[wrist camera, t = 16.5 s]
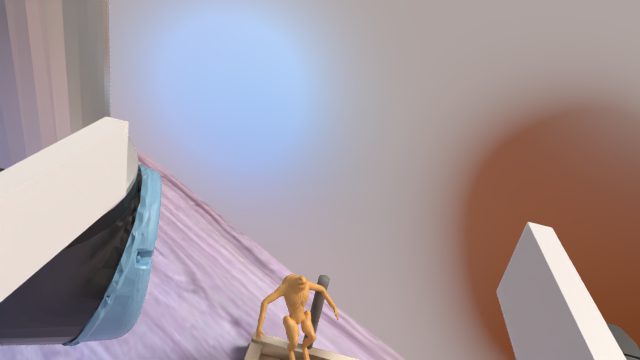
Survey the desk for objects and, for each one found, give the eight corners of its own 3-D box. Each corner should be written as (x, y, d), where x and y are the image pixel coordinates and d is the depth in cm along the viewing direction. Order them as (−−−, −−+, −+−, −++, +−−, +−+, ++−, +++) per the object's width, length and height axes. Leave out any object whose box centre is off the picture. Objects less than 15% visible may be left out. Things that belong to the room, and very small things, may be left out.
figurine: (268, 437, 40) (280, 310, 37) (238, 390, 45) (246, 273, 41) (349, 404, 45) (367, 288, 41) (314, 364, 49) (328, 257, 46)
